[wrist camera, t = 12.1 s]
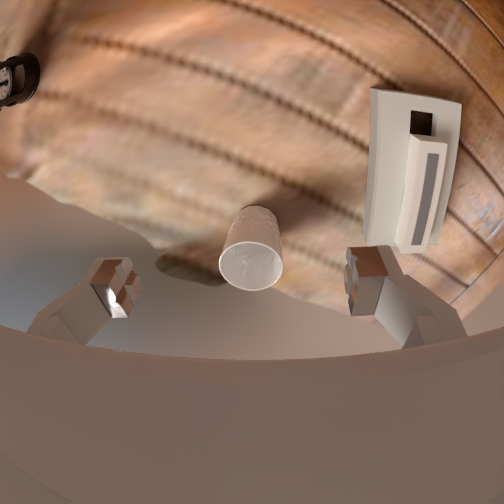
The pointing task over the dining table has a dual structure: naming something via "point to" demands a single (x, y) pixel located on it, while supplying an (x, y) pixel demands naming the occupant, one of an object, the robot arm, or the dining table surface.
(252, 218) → the white cup
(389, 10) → the dining table surface
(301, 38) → the dining table surface
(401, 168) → the mounting board
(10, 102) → the french press
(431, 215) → the cream rectangular block
